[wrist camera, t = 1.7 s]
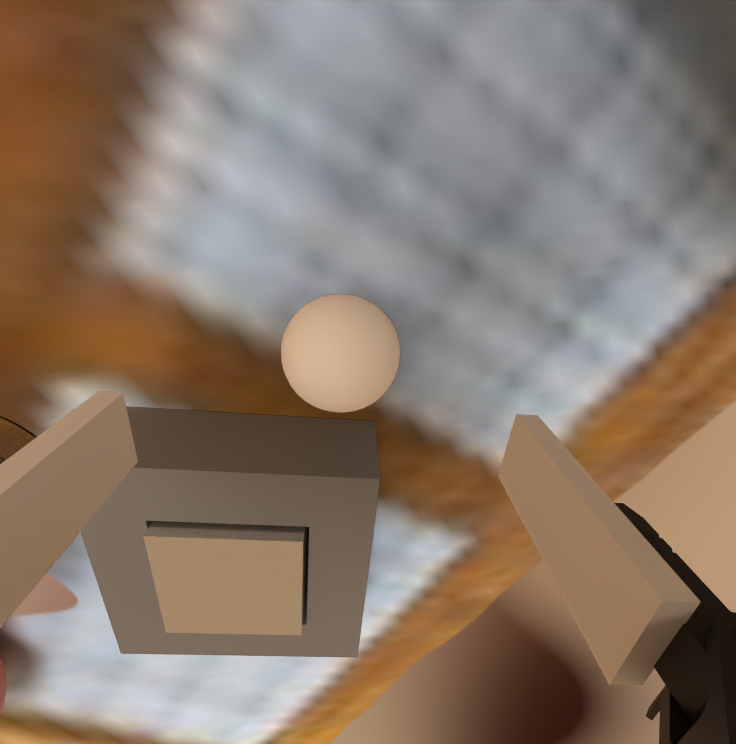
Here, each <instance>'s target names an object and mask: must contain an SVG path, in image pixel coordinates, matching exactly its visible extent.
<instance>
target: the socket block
mask: <svg viewBox="0 0 736 744" xmlns="http://www.w3.org/2000/svg"><path fill="white" fill-rule="evenodd" d="M126 408H127V413H128V417H129V422H130V427H131V431H132V436H133V441H134V446H135V450H136V455H137V460H138V462H137V464H136V465H135V466H134V467H133V468H132V470H131V471H130V472H129V473H128V474H127V476H126V477H125V478H124V479H123V480H122V482H121V483H120V484H119V485H118V487H117V488H116V489H115V490H114V491H113V493H112V494H111V495H110V496H109V497H108V499H107V500H106V501H105V502H104V503H103V505H102V506H101V507H100V508H99V509H98V511H97V512H96V513H95V514H94V516H93V517H92V518H91V519H90V520H89V522H88V523H87V524H86V525H85V526H84V528H83V529H82V530H81V531H80V532H81V535H82V538H83V541H84V544H85V547H86V550H87V553H88V556H89V559H90V562H91V565H92V568H93V571H94V574H95V577H96V580H97V583H98V586H99V589H100V592H101V595H102V598H103V601H104V604H105V607H106V610H107V613H108V616H109V619H110V622H111V625H112V628H113V631H114V634H115V637H116V640H117V643H118V646H119V649H120V652H121V653H123V654H184V655H245V656H305V657H358V649H359V641H360V633H361V625H362V617H363V610H364V602H365V594H366V586H367V578H368V570H369V562H370V555H371V547H372V539H373V531H374V523H375V515H376V507H377V500H378V492H379V484H380V472H379V461H378V449H377V438H376V426H375V421H367V420H350V419H332V418H315V417H297V416H280V415H262V414H245V413H227V412H210V411H193V410H175V409H158V408H140V407H126ZM152 521H170V522H196V523H222V524H248V525H274V526H300V527H309V551H307V580H306V603H305V611H304V619H303V627H302V635H258V634H208V633H166V631H165V626H164V622H163V618H162V614H161V609H160V605H159V601H158V597H157V593H156V588H155V584H154V580H153V576H152V571H151V567H150V563H149V559H148V554H147V550H146V546H145V542H144V537H143V536H144V534H145V532H146V531H147V529H148V528H149V526H150V525H151V523H152Z"/></svg>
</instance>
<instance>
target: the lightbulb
mask: <svg viewBox="0 0 736 744" xmlns="http://www.w3.org/2000/svg"><path fill="white" fill-rule="evenodd" d="M399 359H400V347H399V341H398V337H397V334H396V331H395V328H394V327H393V325H392V323H391V321H390V320H389V318H388V317H387V316H386V315H385V314H384V312H383V311H382V310H381V309H379V308H378V307H377V306H375V305H374V304H373V303H371V302H369V301H367V300H365V299H362V298H360V297H356V296H353V295H347V294H335V295H327V296H323V297H321V298H318V299H315V300H313V301H311V302H310V303H308V304H306V305H305V306H303V307H302V308H301V309H300V310H299V311H298V312H297V313H296V314H295V315H294V317H293V318H292V319H291V321H290V322H289V324H288V326H287V328H286V330H285V333H284V335H283V339H282V345H281V360H282V366H283V370H284V373H285V375H286V377H287V379H288V381H289V384H290V386H291V387H292V388H293V389H294V391H295V392H296V393H297V394H298V395H299V396H300V397H301V398H302V399H303V400H304V401H306V402H307V403H309V404H311V405H312V406H314V407H317V408H319V409H322V410H326V411H330V412H343V413H344V412H351V411H356V410H359V409H363V408H365V407H367V406H369V405H371V404H373V403H374V402H375V401H377V400H378V399H379V398H380V397H381V396H382V395H383V394H384V393H385V392H386V391H387V390H388V388H389V387H390V385H391V383H392V382H393V380H394V378H395V376H396V373H397V370H398V366H399Z"/></svg>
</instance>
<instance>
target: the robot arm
mask: <svg viewBox="0 0 736 744" xmlns="http://www.w3.org/2000/svg"><path fill="white" fill-rule="evenodd" d="M137 462H138V460H137V455H136V450H135V446H134V441H133V436H132V431H131V427H130V422H129V417H128V413H127V408H126V403H125V398H124V394H123V393H117V392H99V391H98V392H97V393H96V394H94V395H93V396H92V397H90V398H89V399H88V400H86V401H85V402H84V403H82V404H81V405H80V406H78V407H77V408H76V409H74V410H73V411H71V412H70V413H69V414H67V415H66V416H65V417H63V418H62V419H61V420H59V421H58V422H57V423H55V424H54V425H53V426H51V427H50V428H49V429H47V430H46V431H45V432H43V433H42V434H41V435H39V436H38V437H36V438H35V439H34V440H32V441H31V442H30V443H28V444H27V445H26V446H24V447H23V448H22V449H20V450H19V451H18V452H16V453H15V454H14V455H12V456H11V457H10V458H8V459H7V460H6V461H4V462H3V463H1V464H0V628H1V627H2V626H3V624H4V623H5V622H6V621H7V620H8V618H9V617H10V616H11V615H12V613H13V612H14V611H15V610H16V609H17V607H18V606H19V605H20V604H21V603H22V601H23V600H24V599H25V598H26V597H27V595H28V594H29V593H30V592H31V591H32V589H33V588H34V587H35V585H36V584H37V583H38V582H39V581H40V580H41V578H42V577H43V576H44V575H45V573H46V572H47V571H48V570H49V569H50V568H51V566H52V565H53V564H54V563H55V561H56V560H57V559H58V558H59V557H60V555H61V554H62V553H63V552H64V551H65V549H66V548H67V547H68V546H69V545H70V543H71V542H72V541H73V540H74V539H75V537H76V536H77V535H78V534H79V532H80V531H81V530H82V529H83V528H84V526H85V525H86V524H87V523H88V522H89V520H90V519H91V518H92V517H93V516H94V514H95V513H96V512H97V511H98V509H99V508H100V507H101V506H102V505H103V503H104V502H105V501H106V500H107V499H108V497H109V496H110V495H111V494H112V493H113V491H114V490H115V489H116V488H117V487H118V485H119V484H120V483H121V482H122V480H123V479H124V478H125V477H126V476H127V474H128V473H129V472H130V471H131V470H132V468H133V467H134V466H135V465H136V464H137ZM498 478H499V480H500V481H501V483H502V485H503V487H504V489H505V491H506V493H507V494H508V496H509V498H510V500H511V502H512V504H513V506H514V508H515V509H516V511H517V513H518V515H519V517H520V519H521V521H522V522H523V524H524V526H525V528H526V530H527V532H528V534H529V536H530V537H531V539H532V541H533V543H534V545H535V547H536V549H537V550H538V552H539V554H540V556H541V558H542V560H543V562H544V563H545V565H546V567H547V569H548V571H549V573H550V575H551V577H552V578H553V580H554V582H555V584H556V586H557V588H558V589H559V592H560V593H561V595H562V597H563V599H564V601H565V603H566V605H567V606H568V608H569V610H570V612H571V614H572V616H573V618H574V620H575V621H576V623H577V625H578V627H579V629H580V631H581V633H582V634H583V636H584V638H585V640H586V642H587V644H588V646H589V648H590V649H591V651H592V653H593V655H594V657H595V659H596V660H597V662H598V664H599V666H600V668H601V670H602V672H603V674H604V676H605V677H606V679H607V681H608V683H609V684H610V685H611V684H612V685H613V684H614V685H615V684H618V685H621V684H622V685H624V684H625V685H628V684H629V685H630V684H632V685H641V684H643V683H644V682H645V681H646V679H647V678H648V676H649V675H650V673H651V672H652V670H653V669H654V668H655V669H656V671H657V672H658V674H659V675H660V677H661V678H662V680H663V681H664V683H665V684H666V685H665V687H664V688H663V689H662V691H661V692H660V694H659V695H658V696H657V698H656V699H655V700H654V701H653V703H652V704H651V705H650V707H649V709H648V712H647V714H646V717H648V718H649V719H651V720H653V719H654V717H655V716H656V715H657V713H658V712H659V711H660V730H659V732H660V733H659V744H736V613H734V612H731V611H729V610H728V609H727V608H726V606H725V605H724V604H723V603H722V602H721V601H720V600H719V599H718V598H717V597H716V596H715V595H714V594H713V593H712V591H711V590H710V589H709V588H708V587H707V586H706V585H705V584H704V583H703V582H702V581H701V580H700V578H699V577H698V576H697V575H696V574H695V573H694V572H693V571H692V570H691V569H690V568H689V567H688V566H687V564H686V563H685V562H684V561H683V560H682V559H681V558H680V557H679V556H678V555H677V554H676V553H673V552H672V548H671V547H670V546H669V545H668V544H667V543H666V542H665V541H664V540H663V539H662V538H659V535H658V533H657V532H656V531H655V530H654V529H653V528H652V527H651V526H650V525H649V523H648V522H647V521H646V520H645V519H644V518H643V517H641V516H640V515H638V514H637V513H636V512H634V511H633V510H632V509H630V508H629V507H627V506H626V505H625V504H623V503H614V502H613V501H612V500H611V499H610V498H609V496H608V495H607V494H606V493H605V492H604V491H603V490H602V489H601V487H600V486H599V485H598V484H597V483H596V482H595V481H594V479H593V478H592V477H591V476H590V475H589V474H588V473H587V471H586V470H585V469H584V468H583V467H582V466H581V465H580V463H579V462H578V461H577V460H576V459H575V458H574V457H573V455H572V454H571V453H570V452H569V451H568V450H567V449H566V447H565V446H564V445H563V444H562V443H561V442H560V441H559V439H558V438H557V437H556V436H555V435H554V434H553V433H552V431H551V430H550V429H549V428H548V427H547V426H546V425H545V423H544V422H543V421H542V420H541V419H540V418H539V417H538V415H519V414H516V417H515V421H514V424H513V428H512V431H511V434H510V438H509V441H508V445H507V448H506V451H505V455H504V458H503V462H502V465H501V469H500V472H499V475H498Z"/></svg>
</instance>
